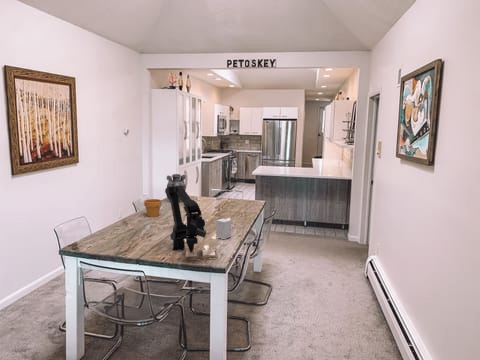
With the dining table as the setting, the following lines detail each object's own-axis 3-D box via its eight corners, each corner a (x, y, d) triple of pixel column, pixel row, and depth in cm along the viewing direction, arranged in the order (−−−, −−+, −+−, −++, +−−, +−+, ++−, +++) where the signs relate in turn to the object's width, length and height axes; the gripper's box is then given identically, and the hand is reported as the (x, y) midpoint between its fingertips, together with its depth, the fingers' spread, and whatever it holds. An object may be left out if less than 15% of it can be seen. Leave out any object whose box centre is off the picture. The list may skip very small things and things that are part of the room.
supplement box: (231, 238, 242) (231, 220, 240) (223, 240, 236) (223, 222, 234) (223, 235, 246) (223, 218, 245) (215, 237, 241) (216, 219, 239)
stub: (186, 256, 199) (186, 247, 198) (185, 251, 208) (186, 242, 207) (196, 256, 200) (196, 246, 199) (196, 251, 209) (196, 241, 208)
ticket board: (185, 260, 198) (185, 256, 198) (185, 252, 210) (185, 249, 209) (217, 259, 201) (217, 255, 200) (215, 252, 213) (215, 248, 212)
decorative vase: (180, 199, 367) (180, 172, 363) (190, 202, 353) (190, 175, 349) (161, 201, 353) (162, 174, 349) (171, 205, 339) (171, 176, 335)
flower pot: (140, 216, 291) (140, 201, 289) (150, 213, 304) (150, 198, 302) (155, 218, 286) (155, 203, 285) (164, 215, 300) (164, 199, 298)
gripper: (207, 229, 194) (206, 256, 196) (204, 220, 212) (204, 245, 214) (186, 229, 192) (186, 256, 194) (185, 220, 210) (185, 246, 212)
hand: (191, 251), depth 204 cm, fingers closed on stub, 3 cm apart
